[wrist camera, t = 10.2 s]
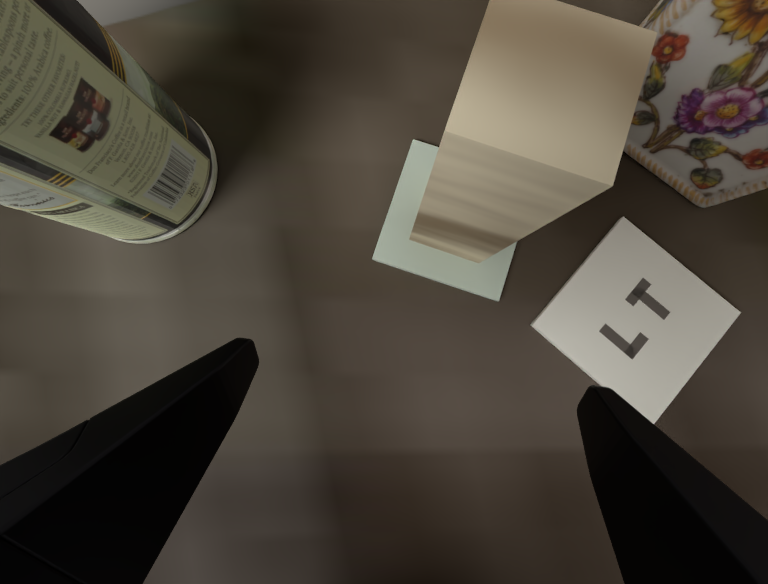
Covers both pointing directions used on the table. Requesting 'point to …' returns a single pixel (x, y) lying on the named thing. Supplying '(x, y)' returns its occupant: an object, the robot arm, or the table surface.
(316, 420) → the table surface
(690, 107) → the decorative jar
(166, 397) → the robot arm
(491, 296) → the coaster
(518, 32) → the birch block
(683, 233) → the table surface
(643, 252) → the white tile
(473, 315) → the table surface
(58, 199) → the coffee can
